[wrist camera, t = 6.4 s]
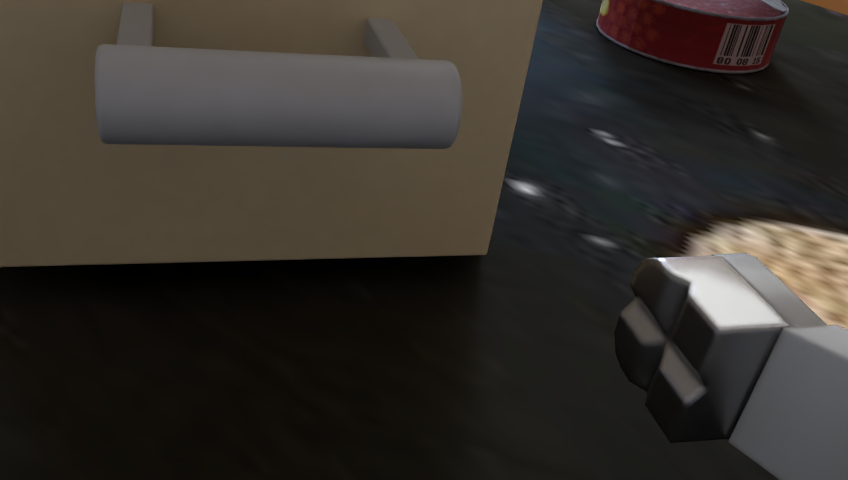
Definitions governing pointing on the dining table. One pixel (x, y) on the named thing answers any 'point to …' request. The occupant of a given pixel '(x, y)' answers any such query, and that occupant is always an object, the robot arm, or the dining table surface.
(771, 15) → the canned food
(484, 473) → the dining table surface
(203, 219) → the beige drawer
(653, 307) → the robot arm
